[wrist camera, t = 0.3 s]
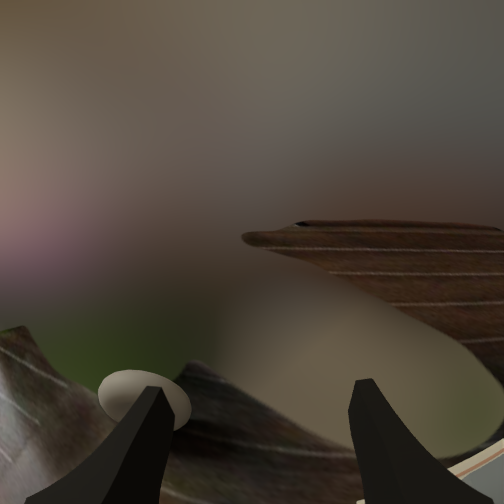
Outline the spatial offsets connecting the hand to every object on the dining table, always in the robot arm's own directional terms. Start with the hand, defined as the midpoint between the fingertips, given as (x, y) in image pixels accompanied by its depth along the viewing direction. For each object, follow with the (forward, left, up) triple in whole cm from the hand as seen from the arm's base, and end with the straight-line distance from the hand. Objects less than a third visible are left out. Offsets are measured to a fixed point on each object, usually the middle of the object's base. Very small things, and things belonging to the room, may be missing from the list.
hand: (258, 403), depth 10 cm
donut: (+10, +13, -20) cm, 27 cm away
